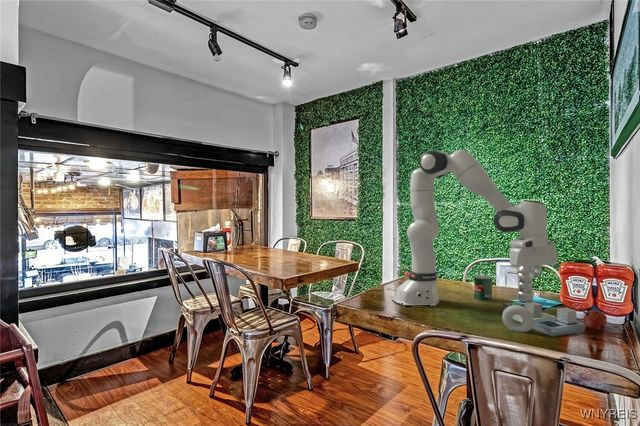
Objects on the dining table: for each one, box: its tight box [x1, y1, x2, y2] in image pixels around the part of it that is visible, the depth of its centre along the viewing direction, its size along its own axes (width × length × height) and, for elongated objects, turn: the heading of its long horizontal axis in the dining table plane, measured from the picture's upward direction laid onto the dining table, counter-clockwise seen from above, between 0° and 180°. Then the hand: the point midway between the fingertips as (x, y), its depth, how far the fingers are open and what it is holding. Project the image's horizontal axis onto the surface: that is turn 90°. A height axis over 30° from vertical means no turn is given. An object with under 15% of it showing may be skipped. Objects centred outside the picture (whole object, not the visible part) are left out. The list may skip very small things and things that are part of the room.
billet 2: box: [556, 307, 577, 325], centre depth 124 cm, size 4×4×7 cm
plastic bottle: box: [516, 267, 534, 303], centre depth 162 cm, size 6×7×20 cm
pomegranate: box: [582, 309, 608, 330], centre depth 126 cm, size 7×7×10 cm
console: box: [502, 301, 525, 311], centre depth 143 cm, size 7×7×4 cm
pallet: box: [532, 318, 586, 337], centre depth 123 cm, size 15×8×4 cm, turn 105°
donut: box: [501, 305, 534, 333], centre depth 123 cm, size 10×4×10 cm, turn 53°
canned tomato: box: [473, 274, 493, 302], centre depth 166 cm, size 8×8×11 cm
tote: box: [512, 311, 557, 323], centre depth 133 cm, size 13×9×3 cm
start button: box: [512, 301, 522, 306], centre depth 143 cm, size 3×3×3 cm
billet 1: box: [524, 301, 543, 319], centre depth 133 cm, size 4×4×7 cm
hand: (534, 276), depth 133 cm, fingers closed
